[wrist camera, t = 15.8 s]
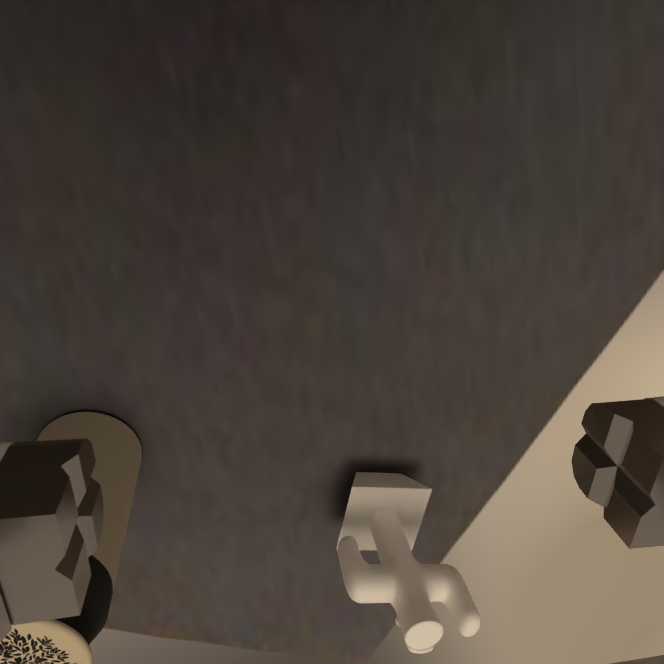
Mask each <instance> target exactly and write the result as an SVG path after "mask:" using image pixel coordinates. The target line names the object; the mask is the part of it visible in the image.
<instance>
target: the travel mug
mask: <svg viewBox="0 0 664 664" xmlns="http://www.w3.org/2000/svg"><path fill="white" fill-rule="evenodd" d="M86 438H87V439H88V440H89V441H90V442H91V443H92V446H93V451H94V455H95V459H96V462H95V465H94V469H93V472H92V475H91V477H92V478H93V479H94V480H95V481H97V482H98V483H99V484H100V485H101V491H102V496H103V511H104V514H103V525H102V534H101V538H100V542H99V546H98V549H97V550H96V551H95V552H94V553H93V554H92V555H91V556H90V557H88V561H89V566H90V570H91V577H90V581H89V584H88V588H87V592H86V595H85V599H84V603H83V607H82V610H81V614H80V615H79V616H73V617H66V618H59V619H52V620H46V621H39V622H32V623H25V624H19V625H12V626H11V627H12V630H11V631H10V632H9V633H8V634H7V635H6V637H5V638H4V639H3V640H2V641H1V642H0V664H92V663H93V659H92V658H93V657H92V652H91V649H90V647H89V644H90V643H91V642H92V640H93V639H94V638H95V637H96V636H97V635H98V634H99V632H100V631H101V630H102V628H103V627H104V625H105V623H106V620H107V617H108V612H109V607H110V603H111V598H112V594H113V589H114V584H115V580H116V575H117V570H118V566H119V561H120V557H121V552H122V547H123V543H124V538H125V534H126V529H127V524H128V520H129V515H130V510H131V506H132V501H133V497H134V492H135V487H136V483H137V478H138V473H139V469H140V464H141V460H142V448H141V444H140V442H139V439H138V438H137V436H136V435H135V433H134V432H133V431H132V430H131V429H130V428H129V427H128V426H127V425H126V424H124V423H123V422H121V421H120V420H118V419H116V418H114V417H111V416H108V415H105V414H101V413H95V412H77V413H72V414H67V415H64V416H62V417H59V418H57V419H56V420H54V421H52V422H51V423H50V424H48V425H47V426H46V427H45V428H44V429H43V431H42V432H41V433H40V435H39V437H38V439H37V441H46V440H66V439H86Z"/></svg>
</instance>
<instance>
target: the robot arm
mask: <svg viewBox="0 0 664 664" xmlns="http://www.w3.org/2000/svg"><path fill="white" fill-rule="evenodd" d="M582 426H583V428H584V429H585V432H586V434H585V435H584V436H583V437H582V438H581V439H580V440H579V441H578V443H577V444H576V445H575V448H574V453H573V457H572V466H573V473H574V477H575V479H576V482H577V484H578V486H579V488H580V489H581V490H582V492H583V493H584V494H585V495H586V497H587V498H588V499H590V500H592V501H594V502H596V503H598V504H599V505H601V506H603V507H604V519H605V520H606V521H607V522H608V523H609V525H610V526H611V527H612V528H613V530H614V531H615V532H616V533H617V534H618V536H619V537H620V538H621V539H622V540H623V542H625V544H626V545H627V546H628V548H629V549H631V548H642V547H653V546H664V397H655V398H645V399H642V400H630V401H617V402H605V403H592V404H591V405H590V406H589V407H588V409H587V410H586V411H585V414H584V417H583V420H582ZM95 462H96V459H95V455H94V451H93V446H92V443H91V442H90V441H89V440H88V439H87V438H86V439H66V440H46V441H26V442H15V443H12V442H8V443H0V642H1V641H2V640H3V639H4V638H5V637H6V635H7V634H8V633H9V632H10V631H11V630H12V627H11V626H12V625H19V624H25V623H32V622H39V621H46V620H52V619H59V618H66V617H73V616H79V615H80V614H81V610H82V607H83V603H84V599H85V595H86V592H87V588H88V584H89V581H90V577H91V570H90V566H89V561H88V557H90V556H91V555H92V554H93V553H94V552H95V551H96V550H97V549H98V546H99V542H100V538H101V534H102V525H103V514H104V511H103V496H102V491H101V485H100V484H99V483H98V482H97V481H95V480H94V479H93V478H92V477H91V475H92V472H93V469H94V465H95ZM611 664H664V655H661V656H655V657H649V658H643V659H636V660H630V661H624V662H618V663H611Z"/></svg>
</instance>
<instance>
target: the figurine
mask: <svg viewBox="0 0 664 664" xmlns="http://www.w3.org/2000/svg"><path fill="white" fill-rule="evenodd" d="M431 491H432V489H431V488H429V487H427V486H425V485H423V484H421V483H419V482H417V481H415V480H413V479H411V478H409V477H407V476H405V475H403V474H400V473H371V472H356V474H355V478H354V481H353V485H352V489H351V493H350V497H349V501H348V505H347V509H346V513H345V517H344V520H343V524H342V528H341V532H340V536H339V540H338V544H337V548H336V550H338V557H339V562H340V566H341V571H342V575H343V579H344V584H345V587H346V590H347V592H348V595H349V596H350V598H351V599H352V600H353V601H355V602H358V603H391V605H392V606H393V607H394V609H395V611H396V614H397V617H396V620H395V622H396V624H397V625H398V626H399V627H400V629H401V633H402V635H403V637H404V640H405V643H406V646H407V648H408V649H409V650H410V651H411V652H413V653H426V652H429V651H431V650H433V647H434V644H436V643H437V642H438V641H439V640H440V639H441V637H442V635H443V627H442V625H441V623H440V621H439V618H438V616H437V614H436V612H435V610H434V608H433V607H432V605H431V602H438V601H440V602H442V603H443V604H444V605H445V606H446V607H447V608H448V610H449V611H450V613H451V615H452V617H453V619H454V622H455V624H456V627H457V629H458V631H459V632H460V633H461V634H462V635H463V636H465V637H470V636H473V635H474V634H475V633H476V632H477V631H478V629H479V627H480V616H479V613H478V611H477V608H476V606H475V604H474V602H473V600H472V597H471V595H470V593H469V591H468V589H467V586H466V584H465V582H464V580H463V578H462V576H461V575H460V573H459V572H458V571H457V569H455V568H454V567H453V566H451V565H447V564H421V563H419V562H417V561H416V560H415V559H414V557H413V554H412V551H411V550H412V549H413V546H414V543H415V540H416V537H417V534H418V531H419V527H420V524H421V521H422V518H423V515H424V512H425V509H426V506H427V503H428V500H429V497H430V494H431ZM360 550H377V552H378V555H379V558H380V562H381V565H370V564H368V563H366V562H365V561H364V559H363V558H362V556H361V553H360Z"/></svg>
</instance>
